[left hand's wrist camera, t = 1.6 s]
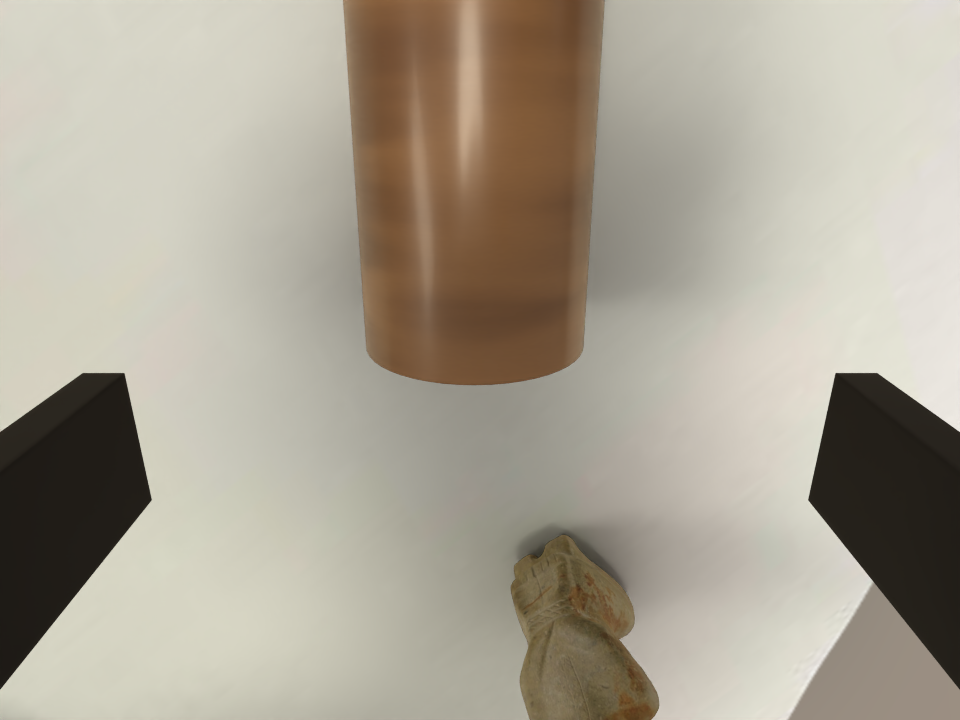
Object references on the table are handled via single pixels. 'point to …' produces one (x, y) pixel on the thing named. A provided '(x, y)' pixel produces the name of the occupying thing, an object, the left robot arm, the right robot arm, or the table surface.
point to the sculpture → (577, 640)
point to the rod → (474, 182)
